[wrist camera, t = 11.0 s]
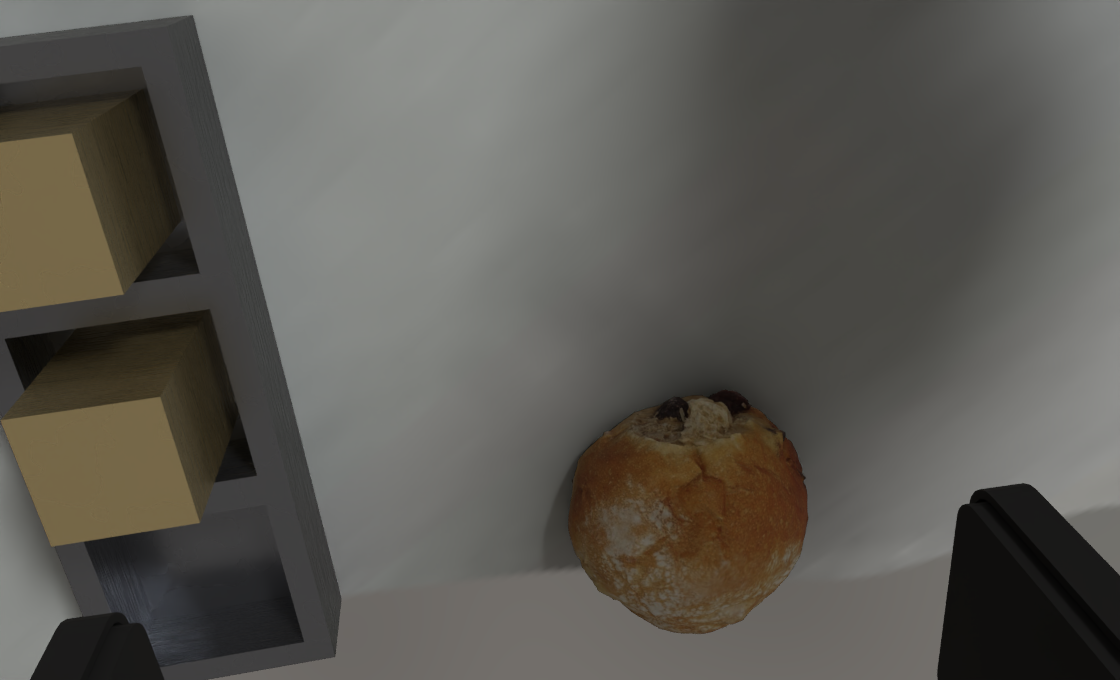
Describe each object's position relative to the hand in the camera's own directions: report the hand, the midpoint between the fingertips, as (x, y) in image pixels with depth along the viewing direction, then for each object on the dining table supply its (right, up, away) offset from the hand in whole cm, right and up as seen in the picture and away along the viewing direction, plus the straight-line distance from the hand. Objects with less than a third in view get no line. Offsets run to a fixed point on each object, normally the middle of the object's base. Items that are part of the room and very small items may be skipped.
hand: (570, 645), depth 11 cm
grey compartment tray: (-15, +3, +24) cm, 28 cm away
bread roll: (+5, -3, +30) cm, 30 cm away
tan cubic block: (-15, +2, +24) cm, 28 cm away
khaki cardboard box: (-16, +9, +20) cm, 27 cm away
